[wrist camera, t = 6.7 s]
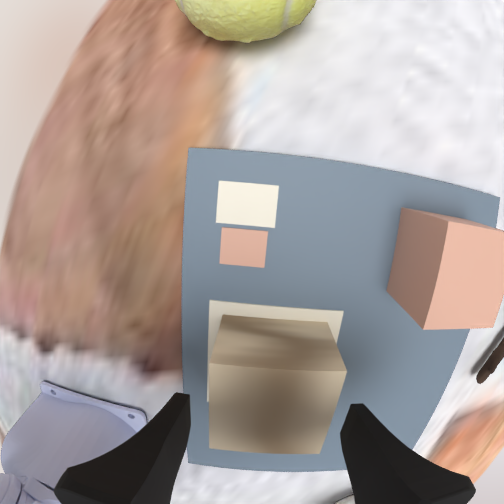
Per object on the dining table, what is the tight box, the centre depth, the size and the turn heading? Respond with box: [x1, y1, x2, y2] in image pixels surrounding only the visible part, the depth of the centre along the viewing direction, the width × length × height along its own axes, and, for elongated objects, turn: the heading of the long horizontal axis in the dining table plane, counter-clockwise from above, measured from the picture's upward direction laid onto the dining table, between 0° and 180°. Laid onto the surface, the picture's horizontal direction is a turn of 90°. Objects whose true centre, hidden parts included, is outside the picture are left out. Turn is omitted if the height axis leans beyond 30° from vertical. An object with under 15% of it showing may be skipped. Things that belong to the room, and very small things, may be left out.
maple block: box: [209, 314, 347, 454], centre depth 14 cm, size 6×6×4 cm
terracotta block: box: [386, 207, 504, 330], centre depth 13 cm, size 4×4×4 cm
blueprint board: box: [182, 148, 500, 472], centre depth 17 cm, size 18×22×1 cm
